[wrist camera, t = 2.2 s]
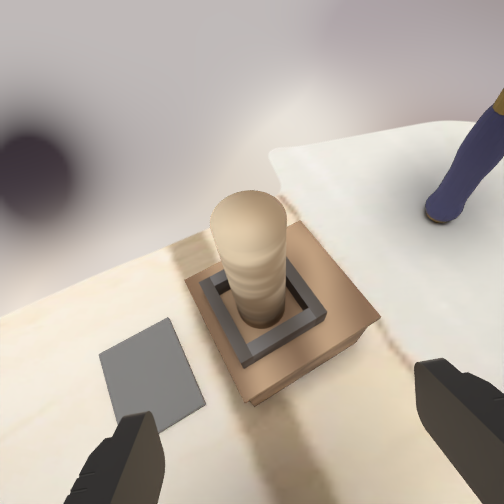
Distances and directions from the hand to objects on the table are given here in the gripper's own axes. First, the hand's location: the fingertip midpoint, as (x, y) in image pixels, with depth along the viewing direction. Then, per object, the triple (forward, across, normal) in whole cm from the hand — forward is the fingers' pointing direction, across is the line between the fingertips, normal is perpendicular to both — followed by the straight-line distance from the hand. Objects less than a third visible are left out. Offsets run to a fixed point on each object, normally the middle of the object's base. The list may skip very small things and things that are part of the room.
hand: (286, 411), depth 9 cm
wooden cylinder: (+16, 0, +4) cm, 17 cm away
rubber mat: (+20, +12, +11) cm, 26 cm away
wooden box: (+22, -1, +9) cm, 24 cm away
